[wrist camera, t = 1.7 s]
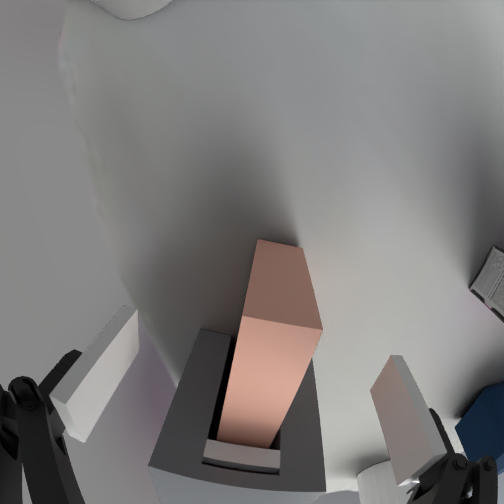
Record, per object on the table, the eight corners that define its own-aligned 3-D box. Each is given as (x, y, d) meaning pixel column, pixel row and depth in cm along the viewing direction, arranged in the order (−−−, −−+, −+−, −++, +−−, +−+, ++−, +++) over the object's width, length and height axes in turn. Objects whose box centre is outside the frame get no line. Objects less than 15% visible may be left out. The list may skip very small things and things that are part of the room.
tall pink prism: (257, 238, 18) (241, 315, 10) (302, 248, 18) (323, 330, 10) (224, 398, 24) (208, 478, 15) (256, 403, 24) (247, 485, 15)
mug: (419, 465, 30) (430, 507, 21) (355, 483, 32) (360, 529, 23) (431, 445, 28) (447, 493, 18) (359, 467, 29) (367, 520, 20)
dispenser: (200, 328, 21) (148, 465, 10) (311, 349, 21) (326, 491, 10) (194, 396, 25) (161, 504, 13) (283, 413, 25) (280, 524, 13)
